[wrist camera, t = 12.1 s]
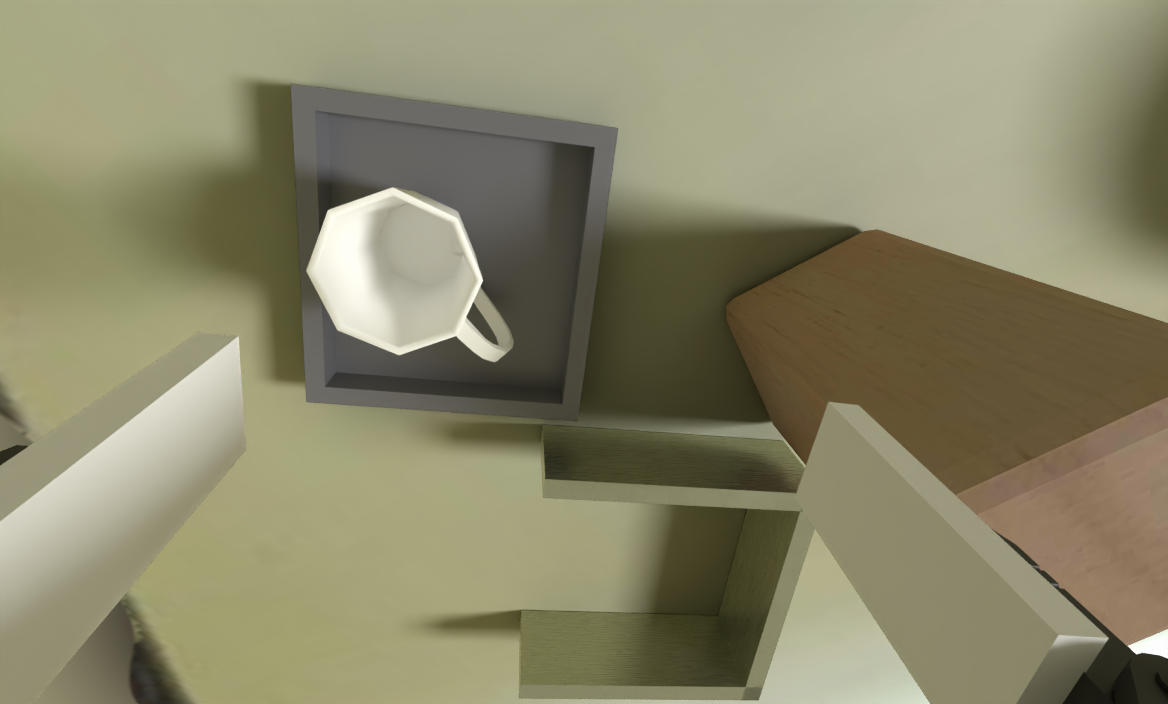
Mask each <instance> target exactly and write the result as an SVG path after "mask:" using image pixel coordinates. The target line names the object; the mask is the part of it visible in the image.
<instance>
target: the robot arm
mask: <svg viewBox="0 0 1168 704" xmlns="http://www.w3.org/2000/svg"><path fill="white" fill-rule="evenodd" d="M245 451H246V439H245V425H244V410H243V396H242V382H241V367H240V353H239V338H238V336H231V335H222V334H213V333H204V332H198V333H196V334H195V335H193V336H192V337H190V338H189V339H188V340H186V341H185V342H183V343H182V344H180V345H179V346H177V347H176V348H174V349H173V350H171V351H170V352H168V353H167V354H165V355H164V356H162V357H161V358H159V359H158V360H156V361H155V362H153V363H152V364H150V365H149V366H147V367H146V368H144V369H143V370H141V371H140V372H139V373H137V374H136V375H134V376H133V377H131V378H130V379H128V380H127V381H125V382H124V383H122V384H121V385H119V386H118V387H116V388H115V389H113V390H112V391H110V392H109V393H107V394H106V395H104V396H103V397H101V398H100V399H98V400H97V401H95V402H94V403H92V404H91V405H90V406H88V407H87V408H85V409H84V410H82V411H81V412H79V413H78V414H76V415H75V416H73V417H72V418H70V419H69V420H67V421H66V422H64V423H63V424H61V425H60V426H58V427H57V428H55V429H54V430H52V431H51V432H49V433H48V434H46V435H45V436H44V437H42V438H41V439H39V440H38V441H36V442H35V443H33V444H32V445H30V446H20V445H16V446H13V447H11V448H8V449H6V450H3V451H1V452H0V704H33V703H34V702H35V701H36V700H37V698H38V697H39V696H40V695H41V694H42V692H43V691H44V690H45V689H46V688H47V687H48V685H49V684H50V683H51V682H52V681H53V679H54V678H55V677H56V676H57V675H58V673H59V672H60V671H61V670H62V669H63V667H64V666H65V665H66V664H67V663H68V661H69V660H70V659H71V658H72V657H73V656H74V654H75V653H76V652H77V651H78V650H79V648H80V647H81V646H82V645H83V644H84V642H85V641H86V640H87V639H88V638H89V636H90V635H91V634H92V633H93V632H94V631H95V629H96V628H97V627H98V626H99V625H100V623H101V622H102V621H103V620H104V619H105V617H106V616H107V615H108V614H109V613H110V611H111V610H112V609H113V608H114V607H115V606H116V604H117V603H118V602H119V601H120V600H121V598H122V597H123V596H124V595H125V594H126V592H127V591H128V590H129V589H130V588H131V586H132V585H133V584H134V583H135V582H136V581H137V579H138V578H139V577H140V576H141V575H142V573H143V572H144V571H145V570H146V569H147V567H148V566H149V565H150V564H151V563H152V561H153V560H154V559H155V558H156V557H157V556H158V554H159V553H160V552H161V551H162V550H163V548H164V547H165V546H166V545H167V544H168V542H169V541H170V540H171V539H172V538H173V536H174V535H175V534H176V533H177V532H178V530H179V529H180V528H181V527H182V526H183V525H184V523H185V522H186V521H187V520H188V519H189V517H190V516H191V515H192V514H193V513H194V511H195V510H196V509H197V508H198V507H199V505H200V504H201V503H202V502H203V501H204V500H205V498H206V497H207V496H208V495H209V494H210V492H211V491H212V490H213V489H214V488H215V486H216V485H217V484H218V483H219V482H220V480H221V479H222V478H223V477H224V476H225V475H226V473H227V472H228V471H229V470H230V469H231V467H232V466H233V465H234V464H235V463H236V461H237V460H238V459H239V458H240V457H241V455H242V454H243V453H244V452H245ZM795 499H796V501H797V502H798V504H799V505H800V507H801V508H802V510H803V511H804V513H805V514H806V516H807V517H808V519H809V520H810V522H811V523H812V525H813V526H814V528H815V529H816V531H817V532H818V534H819V535H820V537H821V539H822V540H823V542H824V543H825V545H826V546H827V548H828V549H829V551H830V552H831V554H832V555H833V557H834V558H835V560H836V561H837V563H838V564H839V566H840V567H841V569H842V570H843V572H844V573H845V575H846V576H847V578H848V579H849V581H850V583H851V584H852V586H853V587H854V589H855V590H856V592H857V593H858V595H859V596H860V598H861V599H862V601H863V602H864V604H865V605H866V607H867V608H868V610H869V611H870V613H871V614H872V616H873V617H874V619H875V620H876V622H877V624H878V625H879V627H880V628H881V630H882V631H883V633H884V634H885V636H886V637H887V639H888V640H889V642H890V643H891V645H892V646H893V648H894V649H895V651H896V652H897V654H898V655H899V657H900V658H901V660H902V661H903V663H904V664H905V666H906V668H907V669H908V671H909V672H910V674H911V675H912V677H913V678H914V680H915V681H916V683H917V684H918V686H919V687H920V689H921V690H922V692H923V693H924V695H925V696H926V698H927V699H928V701H929V702H930V704H1168V659H1167V658H1164V657H1162V656H1159V655H1152V654H1146V653H1141V654H1138V655H1136V654H1135V653H1134V652H1133V651H1132V650H1131V649H1130V648H1129V647H1127V646H1126V645H1125V644H1124V643H1123V642H1122V641H1121V640H1120V639H1119V638H1118V637H1117V636H1115V635H1114V634H1113V633H1112V632H1111V631H1110V630H1109V629H1108V628H1107V627H1106V626H1105V625H1103V624H1102V623H1101V622H1100V621H1099V620H1098V619H1097V618H1096V617H1095V616H1094V615H1092V614H1091V613H1090V612H1089V611H1088V610H1087V609H1086V608H1085V607H1084V606H1083V605H1082V604H1080V603H1079V602H1078V601H1077V600H1076V599H1075V598H1074V597H1073V596H1072V595H1071V594H1070V593H1068V592H1067V591H1066V590H1065V589H1061V588H1059V583H1058V582H1056V581H1055V580H1054V579H1053V578H1052V577H1051V576H1050V575H1049V574H1048V573H1047V572H1046V571H1044V570H1040V568H1039V567H1040V566H1039V565H1038V564H1037V563H1036V562H1035V561H1033V560H1032V559H1031V558H1030V557H1029V556H1028V555H1027V554H1026V553H1025V552H1024V551H1023V550H1021V549H1020V548H1019V547H1018V546H1017V545H1016V544H1014V543H1013V542H1011V541H1010V540H1008V539H1007V538H1005V537H1004V536H1002V535H1000V534H999V533H997V532H996V531H994V530H993V529H991V528H990V527H989V526H988V525H987V524H986V523H985V522H984V521H982V520H981V519H980V518H979V517H978V516H977V515H976V514H975V513H974V512H973V511H972V510H971V509H970V508H969V507H967V506H966V505H965V504H964V503H963V502H962V501H961V500H960V499H959V498H958V497H957V496H956V495H955V494H953V493H952V492H951V491H950V490H949V489H948V488H947V487H946V486H945V485H944V484H943V483H942V482H941V481H939V480H938V479H937V478H936V477H935V476H934V475H933V474H932V473H931V472H930V471H929V470H928V469H927V468H926V467H924V466H923V465H922V464H921V463H920V462H919V461H918V460H917V459H916V458H915V457H914V456H913V455H912V454H910V453H909V452H908V451H907V450H906V449H905V448H904V447H903V446H902V445H901V444H900V443H899V442H898V441H896V440H895V439H894V438H893V437H892V436H891V435H890V434H889V433H888V432H887V431H886V430H885V429H884V428H883V427H881V426H880V425H879V424H878V423H877V422H876V421H875V420H874V419H873V418H872V417H871V416H870V415H869V414H867V413H866V412H865V411H864V410H863V409H862V408H861V407H860V406H859V405H853V404H844V403H835V402H828V404H827V407H826V410H825V413H824V416H823V419H822V422H821V424H820V427H819V430H818V433H817V436H816V439H815V442H814V444H813V447H812V450H811V453H810V456H809V459H808V462H807V464H806V467H805V470H804V473H803V476H802V479H801V481H800V484H799V487H798V490H797V493H796V496H795Z"/></svg>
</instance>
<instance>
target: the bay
mask: <svg viewBox="0 0 1168 704" xmlns="http://www.w3.org/2000/svg"><path fill="white" fill-rule="evenodd" d="M541 461H542V485H543V498H554V499H573V500H593V501H612V502H631V503H650V504H669V505H688V506H708V507H727V508H746V509H747V512H746V515H745V519H744V523H743V526H742V530H741V534H740V537H739V541H738V545H737V548H736V552H735V556H734V559H733V563H732V567H731V570H730V574H729V578H728V581H727V585H726V589H725V592H724V596H723V600H722V603H721V607H720V611H719V614H718V616H714V615H677V614H640V613H603V612H567V611H530V610H521V618H520V651H519V698H530V699H658V700H759V698H760V695H761V691H762V688H763V685H764V682H765V679H766V676H767V673H768V670H769V667H770V664H771V661H772V658H773V655H774V652H775V649H776V646H777V643H778V639H779V636H780V633H781V630H782V627H783V624H784V621H785V618H786V615H787V612H788V609H789V606H790V603H791V600H792V597H793V594H794V590H795V587H796V584H797V581H798V578H799V575H800V572H801V569H802V566H803V563H804V560H805V557H806V554H807V551H808V548H809V545H810V541H811V538H812V535H813V532H814V529H815V528H814V526H813V525H812V523H811V522H810V520H809V519H808V517H807V516H806V514H805V513H804V511H803V510H802V508H801V507H800V505H799V504H798V502H797V501H796V499H795V496H796V493H797V490H798V487H799V484H800V481H801V479H802V476H803V473H804V470H805V468H804V467H803V465H802V464H801V463H800V462H799V460H798V459H797V458H796V457H795V455H794V454H793V453H792V452H791V450H790V449H789V448H788V446H787V445H786V444H785V443H784V441H776V440H761V439H747V438H732V437H717V436H703V435H688V434H674V433H659V432H644V431H630V430H615V429H600V428H586V427H571V426H557V425H542V434H541Z"/></svg>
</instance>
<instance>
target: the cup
mask: <svg viewBox="0 0 1168 704" xmlns="http://www.w3.org/2000/svg"><path fill="white" fill-rule="evenodd" d="M306 272H307V274H308V275H309V277H310V279H311V281H312V283H313V285H314V287H315V289H316V291H317V293H318V294H319V296H320V298H321V300H322V302H323V304H324V306H325V308H326V310H327V312H328V313H329V315H330V317H331V319H332V321H333V323H334V325H335V327H336V329H337V330H338V331H340V332H343V333H345V334H348V335H350V336H353V337H355V338H358V339H360V340H363V341H365V342H367V343H370V344H372V345H375V346H377V347H380V348H382V349H385V350H387V351H390V352H392V353H395V354H397V355H402V354H405V353H407V352H410V351H413V350H416V349H419V348H422V347H425V346H428V345H431V344H434V343H437V342H440V341H443V340H446V339H449V338H452V337H455V336H457V337H458V339H460V340H461V341H462V342H463V343H464V344H465V345H466V346H467V347H468V348H470V349H471V350H472V351H473V352H474V353H476V354H477V355H478V356H480V357H481V358H483V359H485V360H489V361H492V362H496V361H498V360H499V359H500V358H501V357H503V356H504V355H505V354H506V353H507V352H508V351H510V350H511V349H512V347H513V343H514V341H513V337H512V334H511V331H510V329H509V328H508V326H507V324H506V323H505V321H504V319H503V318H502V316H501V315H500V313H499V312H498V310H497V309H496V307H495V306H494V305H493V303H492V302H491V300H490V299H489V298H488V296H487V295H486V293H485V292H484V291H483V289H482V288H481V287H480V286H481V284H482V282H483V279H482V275H481V272H480V269H479V266H478V263H477V259H476V255H475V252H474V250H473V247H472V245H471V242H470V240H469V237H468V235H467V233H466V230H465V228H464V225H463V223H462V220H461V218H460V215H459V213H458V212H457V211H456V210H454V209H452V208H450V207H448V206H446V205H444V204H442V203H439V202H437V201H435V200H433V199H431V198H429V197H427V196H424V195H422V194H419V193H417V192H415V191H409V190H403V189H400V188H394V187H392V188H389V189H386V190H384V191H381V192H378V193H375V194H372V195H369V196H366V197H364V198H361V199H358V200H355V201H352V202H349V203H346V204H344V205H341V206H338V207H335V208H332V209H329V210H328V211H327V214H326V217H325V219H324V222H323V225H322V228H321V231H320V234H319V236H318V239H317V242H316V245H315V248H314V250H313V253H312V256H311V259H310V262H309V264H308V267H307V270H306ZM473 302H474V304H475V305H476V307H477V308H478V309H479V311H480V312H481V314H482V315H483V317H484V318H485V320H486V321H487V323H488V324H489V326H490V327H491V329H492V331H493V332H494V334H495V336H496V338H497V341H498V345H499V346H498V345H495V344H492V343H491V342H490V341H488V340H487V339H486V338H485V337H484V336H483V335H482V334H481V333H480V332H479V331H478V330H477V329H476V328H475V327H474V325H473V324H472V323H471V322H470V321H469V320H468V319H467V318H466V316H467V314H468V312H469V310H470V308H471V306H472V303H473Z"/></svg>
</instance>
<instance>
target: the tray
mask: <svg viewBox="0 0 1168 704" xmlns="http://www.w3.org/2000/svg"><path fill="white" fill-rule="evenodd" d="M291 101H292V121H293V142H294V162H295V183H296V203H297V223H298V244H299V264H300V285H301V305H302V325H303V346H304V366H305V387H306V402H311V403H326V404H340V405H354V406H369V407H383V408H397V409H412V410H426V411H440V412H455V413H469V414H483V415H498V416H512V417H526V418H541V419H555V420H569V421H578V415H579V408H580V401H581V394H582V387H583V379H584V372H585V365H586V358H587V350H588V343H589V336H590V329H591V321H592V314H593V307H594V300H595V293H596V285H597V278H598V271H599V264H600V256H601V249H602V242H603V235H604V227H605V220H606V213H607V206H608V198H609V191H610V184H611V177H612V170H613V162H614V155H615V148H616V141H617V133H618V128H614V127H607V126H599V125H592V124H584V123H577V122H570V121H562V120H555V119H548V118H540V117H533V116H526V115H518V114H511V113H504V112H496V111H489V110H482V109H474V108H467V107H460V106H452V105H445V104H438V103H430V102H423V101H416V100H408V99H401V98H394V97H386V96H379V95H372V94H364V93H357V92H350V91H342V90H335V89H328V88H320V87H313V86H306V85H298V84H291ZM392 187H394V188H400V189H403V190H409V191H415V192H417V193H419V194H422V195H424V196H427V197H429V198H431V199H433V200H435V201H437V202H439V203H442V204H444V205H446V206H448V207H450V208H452V209H454V210H456V211H457V212H458V213H459V215H460V218H461V220H462V223H463V225H464V228H465V230H466V233H467V235H468V237H469V240H470V242H471V245H472V247H473V250H474V252H475V255H476V259H477V263H478V266H479V269H480V272H481V275H482V279H483V282H482V284H481V286H480V287H481V288H482V289H483V291H484V292H485V293H486V295H487V296H488V298H489V299H490V300H491V302H492V303H493V305H494V306H495V307H496V309H497V310H498V312H499V313H500V315H501V316H502V318H503V319H504V321H505V323H506V324H507V326H508V328H509V329H510V331H511V334H512V337H513V341H514V343H513V347H512V349H511V350H510V351H508V352H507V353H506V354H505V355H504V356H503V357H501V358H500V359H499V360H498V361H496V362H492V361H489V360H485V359H483V358H481V357H480V356H478V355H477V354H476V353H474V352H473V351H472V350H471V349H470V348H468V347H467V346H466V345H465V344H464V343H463V342H462V341H461V340H460V339H458V337H457V336H455V337H452V338H449V339H446V340H443V341H440V342H437V343H434V344H431V345H428V346H425V347H422V348H419V349H416V350H413V351H410V352H407V353H405V354H402V355H397V354H395V353H392V352H390V351H387V350H385V349H382V348H380V347H377V346H375V345H372V344H370V343H367V342H365V341H363V340H360V339H358V338H355V337H353V336H350V335H348V334H345V333H343V332H340V331H338V330H337V329H336V327H335V325H334V323H333V321H332V319H331V317H330V315H329V313H328V312H327V310H326V308H325V306H324V304H323V302H322V300H321V298H320V296H319V294H318V293H317V291H316V289H315V287H314V285H313V283H312V281H311V279H310V277H309V275H308V274H307V272H306V270H307V267H308V264H309V262H310V259H311V256H312V253H313V250H314V248H315V245H316V242H317V239H318V236H319V234H320V231H321V228H322V225H323V222H324V219H325V217H326V214H327V211H328V210H329V209H332V208H335V207H338V206H341V205H344V204H346V203H349V202H352V201H355V200H358V199H361V198H364V197H366V196H369V195H372V194H375V193H378V192H381V191H384V190H386V189H389V188H392ZM466 318H467V319H468V320H469V321H470V322H471V323H472V324H473V325H474V327H475V328H476V329H477V330H478V331H479V332H480V333H481V334H482V335H483V336H484V337H485V338H486V339H487V340H488V341H490V342H491V343H492V344H495V345H498V341H497V338H496V336H495V334H494V332H493V331H492V329H491V327H490V326H489V324H488V323H487V321H486V320H485V318H484V317H483V315H482V314H481V312H480V311H479V309H478V308H477V307H476V305H475V304H474V302H473V303H472V306H471V308H470V310H469V312H468V314H467V316H466ZM498 346H499V345H498Z"/></svg>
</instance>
